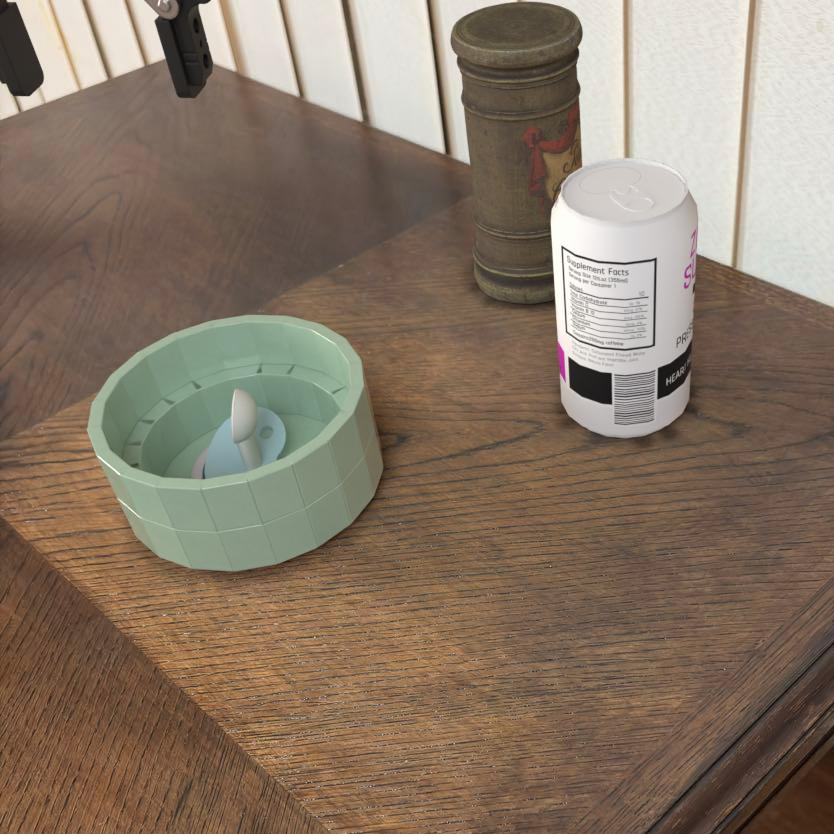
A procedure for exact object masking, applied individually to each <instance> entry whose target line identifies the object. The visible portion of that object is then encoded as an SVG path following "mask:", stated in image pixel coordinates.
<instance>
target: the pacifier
mask: <svg viewBox="0 0 834 834" xmlns="http://www.w3.org/2000/svg"><path fill="white" fill-rule="evenodd" d="M268 429H270V430H272V431H273V435H272V436H271V437H270V438H269V439H262V438H261V435H262V433H263V432H264V431H265V430H268ZM285 445H286V432H285V427H284V424H283V422H282V421H281V419H280V418H279V417H278V415H276V414H275V413H274V412H273V411H271V410H269V409H267V408H262V407H257V405H256V403H255V401H254V399H253V397H252V396H251V395H250V394H249V393H248V392H246V391H244V390H242V389H235V391H234V395H233V401H232V413H231V417H229V418H228V419H227V420H226V421H225V422H224V423H223V424H222V425H221V427H220V428H219V429H218V431H217V432H216V434H215V436H214V438H213V440H212V442H211V444H210V445H209V446H208V447H207V448H205V449H204V450H203V451H202V453H201V454H200V455H199V456H198V458H197V459H196V461H195V463H194V465H193V468H192V472H191V479H205V478H206V479H208V478H214V477H220V476H226V475H232V474H238V473H244V472H248V471H251V470H253V469H256V468H258V467H261V466H264V465H266V464H269V463H272V462H274V461H277V460H278V458H279V457H280V456H281V455H282V453H283V451H284V448H285Z"/></svg>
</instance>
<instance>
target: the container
mask: <svg viewBox="0 0 834 834" xmlns="http://www.w3.org/2000/svg"><path fill="white" fill-rule="evenodd" d="M583 32H584V31H583V26H582V23H581V20H580V18H579V17H578V15H577V14H576V13H574V12H573V11H572V10H570V9H569V8H567V7H564V6H560V5H558V4H554V3H549V2H542V1H511V2H504V3H499V4H493V5H488V6H485V7H482V8H479V9H476V10H474V11H472V12H470V13H467V14H466V15H463V16H462V17H460V18H459V19H458V20H457V21H456V22H455V23H454V25H453V26H452V29H451V31H450V46H451V49H452V51H453V53H454V54H455V55H456V56H457V57H456V65H457V67H458V69H459V73H460V75H461V85H462V89H461V95H460V101H461V104H462V106H463V112H464V113H463V115H464V123H465V130H466V131H465V132H466V142H467V150H468V157H469V166H470V176H471V184H472V185H471V186H472V198H473V205H472V219H473V223H474V227H475V228H474V229H475V235H476V236H475V237H476V238H475V240H474V242H473V245H472V256H473V258H474V261H473V262H474V263H473V275H474V278H475V281H476V283H477V285H478V287H479V289H480V290H481V291H482V292H484V294H486V295H488V296H489V297H491V298H492V299H495V300H497V301H502V302H505V303H510V304H511V303H512V304H518V305H530V304H534V305H535V304H542V303H547V302H548V303H549V302H552V301H555V285H554V269H553V252H552V236H551V213H552V208H553V206H554V204H555V202H556V200H557V198H558V196H559V194H560V192H561V185H562V184H563V182H564V181H565V180H566V178H567V177H568V176H569V175H570V174H571V173H573V172H575V171H576V170H578V169H580V168H581V167H583V152H582V150H583V149H582V131H581V130H582V128H581V127H582V125H581V106H580V96H581V95H580V94H581V91H582V90H581V84H580V82H579V79H578V67H577V65H578V60H579V58H580V49H579V46H580V45H581V43H582V40H583V37H584V34H583Z"/></svg>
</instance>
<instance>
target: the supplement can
mask: <svg viewBox="0 0 834 834" xmlns="http://www.w3.org/2000/svg"><path fill="white" fill-rule="evenodd" d="M688 187H689V186H688V180H687V179H686V177H684V176H683V174H682V173H681V172H680V171H679V170H678V169H676V168H674V167H672V166H670V165H667V164H666V163H664V162H660V161H656V160H651V159H648V158H636V157H635V158H634V157H617V158H611V159H602V160H599V161H596V162H593V163H588V164H586V165H582V167H581V168H580V169H578V170H576V171H575V172H573V173H571V174H570V175H569V176H568V177H567V178H566V180H565V181H564V182H563V184H562V185H561V192H560V194H559V196H558V198H557V200H556V202H555V204H554V206H553V208H552V213H551V236H552V252H553V269H554V285H555V300H554V303H555V315H556V316H555V317H556V331H557V333H556V334H557V351H558V364H559V366H558V367H559V368H558V369H559V382H560V383H559V384H560V399H561V404H562V406H563V408H564V409H565V412H566V413H567V416H569V417H570V418H571V419H573V420H574V421H575V422H576V423H577V424H579V425H580V426H581V427H583V428H586V429H587V430H588V431H591V432H592V433H596V434H599V435H601V436H603V437H609V438H620V439H630V438H636V437H637V438H638V437H644V436H647V435H650V434H653V433H655V432H658V431H661V430H662V429H663V428H666V427H667V426H669V425H670V424H671V423H673V422H674V421H676V419H677V418H678V417H680V416H682V414H683V413H684V411H685V409H686V407H687V405H688V403H689V401H690V391H691V373H692V372H691V370H692V354H693V353H692V352H693V333H694V332H693V331H694V310H695V293H696V291H695V290H696V275H697V273H696V272H697V271H696V270H697V255H698V254H697V251H698V232H699V211H698V205H697V202H696V201H695V198H694V197H693V195H692V193H691V191H690V190H689V188H688Z"/></svg>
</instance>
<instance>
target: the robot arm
mask: <svg viewBox="0 0 834 834" xmlns="http://www.w3.org/2000/svg"><path fill="white" fill-rule="evenodd" d="M143 1H144V2H145V3H146V4H147V5H148V6H149V7H150V8H151V9H152V10H153V11H154V12H155V14H157V15H158V16H157V17H156V18H155V19H154V20H153V22H154V25H155V28H156V31H157V35H158V38H159V41H160V44H161V48H162V51H163V54H164V58H165V61H166V64H167V68H168V71H169V74H170V78H171V81H172V84H173V87H174V88H173V89H174V91H175V94H176V96H177V97H178V98H179V99H196V98H197V97H198V95H199V94H200V93H201V92H202V91H203V89H204V88H205V87H206V85H207V80H208V79H209V78H210V76H211V75H212V74H213V67H214V60H213V57H212V53H211V50H210V45H209V42H208V39H207V34H206V30H205V27H204V23H203V20H202V16H201V13H200V5H206V4H209V3H210V2H211V1H212V0H143ZM44 81H45V74H44V70H43V68H42V65H41V62H40V60H39V57H38V55H37V52H36V50H35V47H34V45H33V42H32V39H31V37H30V34H29V32H28V28H27V27H26V24H25V22H24V19H23V17H22V14H21V11H20V8H19V5H18V3H17V1H8V0H0V83H1V84H2V85H6V87H7V90H8V92H9V93H10V94H11V95H12V96H13V97H31V96H32V95H33V94H34V93H35V92H37V90H38V89H39V88H40V87H41V86H42V85H43V84H44Z"/></svg>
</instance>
